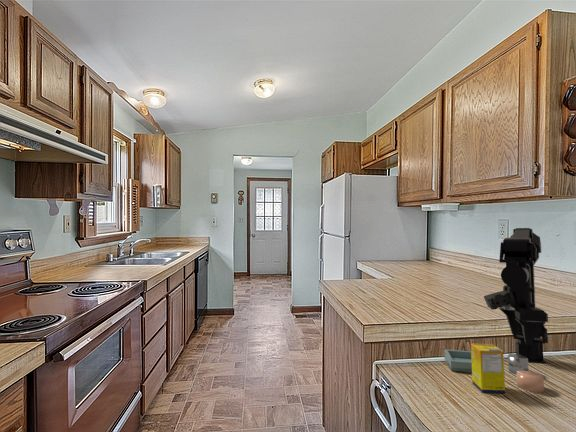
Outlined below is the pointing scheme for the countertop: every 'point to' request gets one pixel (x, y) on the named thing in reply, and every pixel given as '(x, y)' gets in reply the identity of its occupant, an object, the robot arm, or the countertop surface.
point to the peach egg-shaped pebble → (530, 381)
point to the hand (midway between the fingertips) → (521, 339)
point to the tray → (458, 360)
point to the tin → (517, 363)
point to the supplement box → (488, 368)
